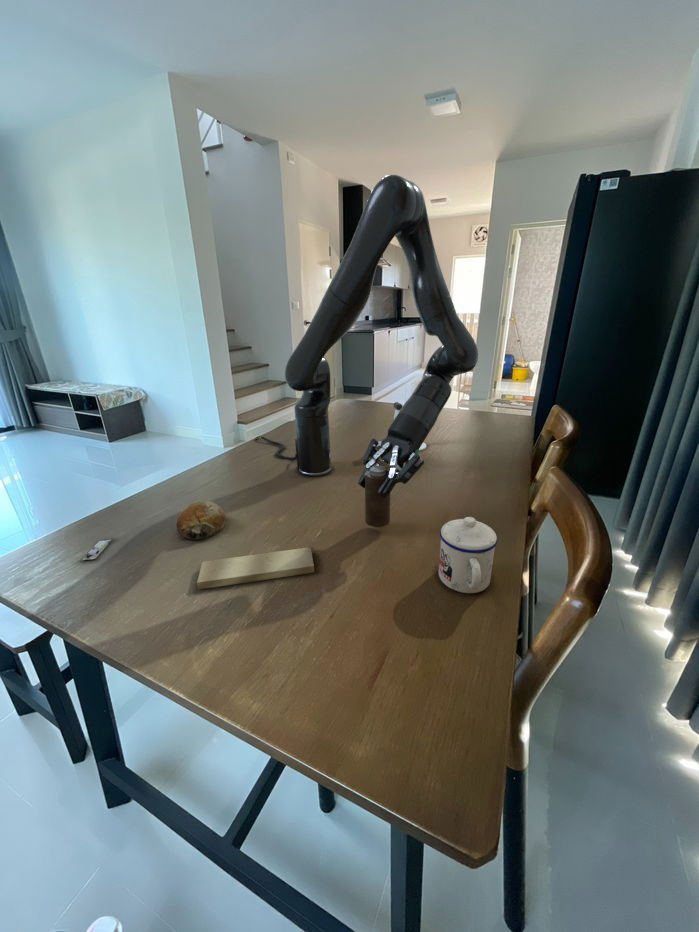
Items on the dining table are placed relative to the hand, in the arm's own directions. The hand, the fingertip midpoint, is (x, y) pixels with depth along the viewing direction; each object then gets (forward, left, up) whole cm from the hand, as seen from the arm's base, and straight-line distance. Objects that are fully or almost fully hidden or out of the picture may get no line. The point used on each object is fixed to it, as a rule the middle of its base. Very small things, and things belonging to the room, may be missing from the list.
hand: (371, 490), depth 77 cm
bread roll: (-30, -22, -10) cm, 38 cm away
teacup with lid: (+22, -2, -10) cm, 25 cm away
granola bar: (-39, -40, -10) cm, 57 cm away
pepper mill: (0, +2, -8) cm, 8 cm away
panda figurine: (-24, +51, -10) cm, 57 cm away
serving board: (-8, -23, -10) cm, 26 cm away
